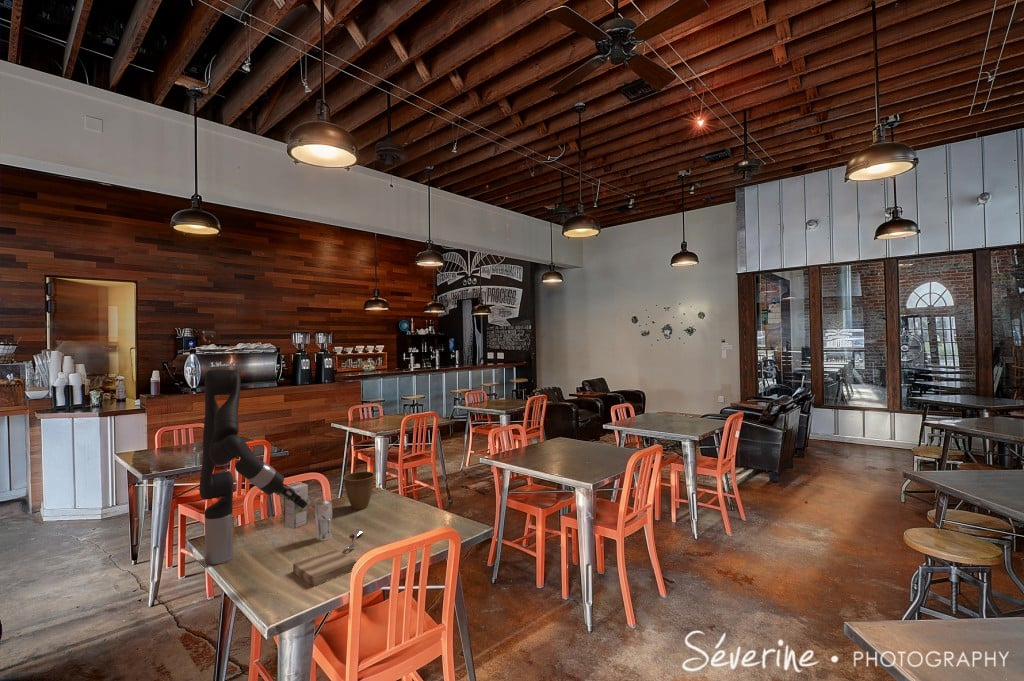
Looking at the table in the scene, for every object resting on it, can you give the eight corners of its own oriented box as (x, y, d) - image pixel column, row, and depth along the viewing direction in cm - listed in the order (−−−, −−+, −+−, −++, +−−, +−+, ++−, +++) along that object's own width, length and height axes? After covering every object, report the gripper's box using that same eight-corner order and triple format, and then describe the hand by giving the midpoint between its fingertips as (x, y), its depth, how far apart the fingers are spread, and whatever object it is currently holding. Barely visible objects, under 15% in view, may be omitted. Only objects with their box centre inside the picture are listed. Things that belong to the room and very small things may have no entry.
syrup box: (297, 521, 176) (296, 481, 176) (308, 524, 173) (308, 483, 173) (283, 527, 171) (282, 486, 171) (294, 529, 168) (294, 488, 168)
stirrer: (354, 543, 190) (341, 543, 190) (354, 552, 190) (341, 553, 190) (365, 526, 210) (354, 527, 210) (365, 535, 210) (354, 535, 210)
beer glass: (327, 542, 201) (326, 506, 200) (311, 541, 202) (311, 505, 202) (335, 535, 207) (335, 500, 207) (321, 534, 209) (320, 499, 209)
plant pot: (355, 501, 251) (354, 470, 251) (380, 503, 247) (380, 472, 247) (337, 511, 236) (337, 478, 236) (364, 513, 232) (363, 480, 232)
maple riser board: (293, 571, 175) (293, 563, 175) (334, 556, 187) (334, 548, 187) (314, 586, 164) (314, 577, 164) (356, 569, 176) (356, 561, 176)
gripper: (282, 472, 161) (316, 498, 170) (265, 465, 171) (299, 490, 180) (265, 491, 158) (302, 517, 166) (249, 483, 167) (284, 508, 176)
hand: (300, 503), depth 173 cm, fingers closed on syrup box, 6 cm apart
